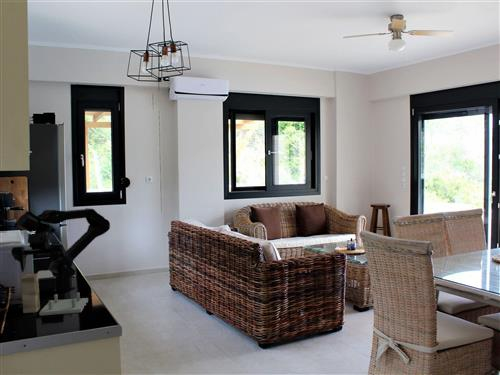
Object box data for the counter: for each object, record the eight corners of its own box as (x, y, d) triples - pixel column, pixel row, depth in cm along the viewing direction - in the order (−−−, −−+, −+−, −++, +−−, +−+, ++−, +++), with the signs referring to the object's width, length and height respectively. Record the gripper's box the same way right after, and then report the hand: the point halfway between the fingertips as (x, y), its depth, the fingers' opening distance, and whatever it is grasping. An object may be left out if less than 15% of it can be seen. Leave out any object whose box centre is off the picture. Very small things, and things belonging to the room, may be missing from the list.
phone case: (54, 280, 221) (57, 272, 237) (53, 277, 221) (57, 269, 236) (33, 282, 219) (37, 274, 234) (33, 279, 219) (37, 270, 234)
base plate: (50, 303, 182) (49, 292, 182) (88, 300, 184) (87, 290, 184) (39, 315, 168) (38, 303, 168) (80, 312, 170) (80, 300, 170)
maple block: (27, 309, 176) (24, 274, 176) (40, 308, 177) (37, 273, 176) (23, 313, 172) (21, 277, 171) (36, 312, 173) (34, 276, 172)
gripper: (11, 226, 184) (2, 260, 173) (61, 223, 186) (56, 257, 176) (19, 243, 192) (11, 276, 182) (67, 240, 195) (62, 273, 184)
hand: (35, 270), depth 181 cm, fingers open, 9 cm apart
